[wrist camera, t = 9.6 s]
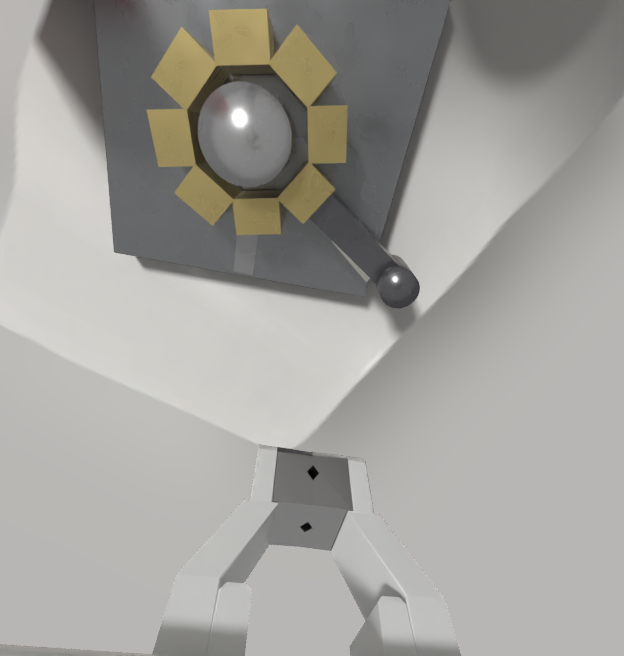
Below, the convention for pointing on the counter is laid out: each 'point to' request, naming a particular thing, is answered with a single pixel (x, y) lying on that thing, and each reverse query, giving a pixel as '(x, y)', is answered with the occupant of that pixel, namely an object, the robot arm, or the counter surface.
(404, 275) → the geared lever handle
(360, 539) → the robot arm
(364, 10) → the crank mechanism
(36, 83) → the counter surface
